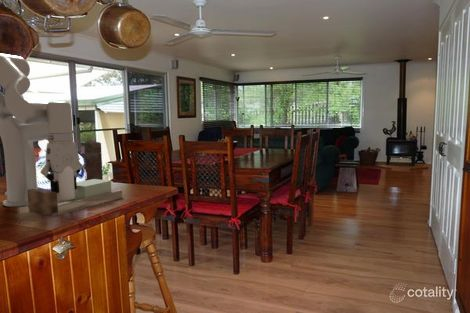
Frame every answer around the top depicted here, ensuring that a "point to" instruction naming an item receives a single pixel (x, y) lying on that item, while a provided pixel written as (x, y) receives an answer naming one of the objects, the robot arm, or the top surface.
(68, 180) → the can
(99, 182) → the sliding block
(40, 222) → the top surface
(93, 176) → the brown textured cylinder
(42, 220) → the top surface
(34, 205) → the channel
